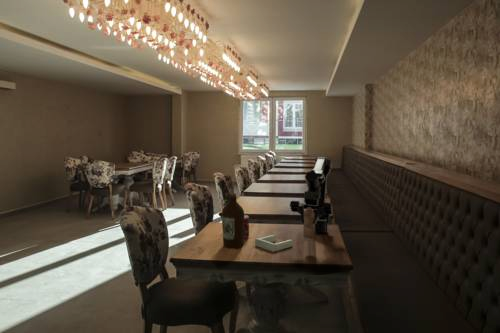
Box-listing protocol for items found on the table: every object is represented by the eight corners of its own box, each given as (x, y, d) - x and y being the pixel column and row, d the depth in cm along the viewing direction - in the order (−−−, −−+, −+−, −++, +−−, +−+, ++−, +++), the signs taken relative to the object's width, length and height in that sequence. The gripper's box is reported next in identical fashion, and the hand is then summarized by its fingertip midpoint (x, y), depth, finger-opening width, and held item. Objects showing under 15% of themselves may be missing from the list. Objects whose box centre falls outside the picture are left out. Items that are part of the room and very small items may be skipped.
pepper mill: (311, 235, 177) (311, 206, 176) (316, 237, 173) (316, 208, 171) (301, 236, 176) (302, 206, 174) (306, 238, 171) (306, 208, 170)
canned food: (236, 240, 193) (235, 218, 192) (232, 235, 201) (232, 214, 200) (250, 238, 195) (250, 217, 194) (246, 234, 203) (246, 214, 202)
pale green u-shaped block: (273, 240, 192) (273, 233, 192) (292, 246, 183) (292, 239, 183) (255, 245, 184) (255, 238, 184) (273, 251, 175) (273, 244, 175)
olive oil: (230, 241, 192) (230, 191, 189) (248, 244, 186) (248, 193, 183) (217, 246, 183) (216, 194, 180) (235, 250, 177) (235, 196, 175)
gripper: (290, 183, 179) (284, 211, 169) (332, 185, 172) (328, 214, 163) (294, 197, 187) (289, 225, 178) (334, 199, 181) (330, 228, 171)
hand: (308, 223), depth 172 cm, fingers closed on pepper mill, 5 cm apart
